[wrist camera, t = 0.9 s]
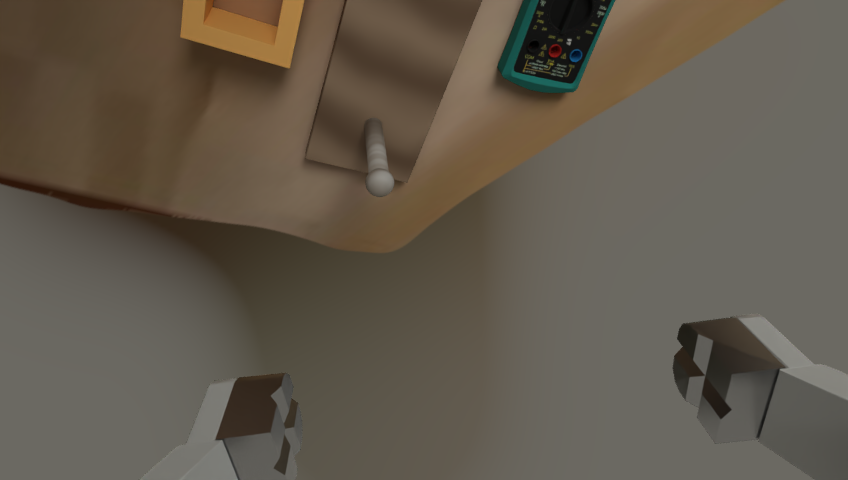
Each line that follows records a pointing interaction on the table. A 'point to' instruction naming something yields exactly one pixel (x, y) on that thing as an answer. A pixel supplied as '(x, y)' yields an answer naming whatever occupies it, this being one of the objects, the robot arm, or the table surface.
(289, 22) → the orange rectangular frame
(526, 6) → the digital multimeter
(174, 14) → the table surface
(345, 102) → the keeper board
